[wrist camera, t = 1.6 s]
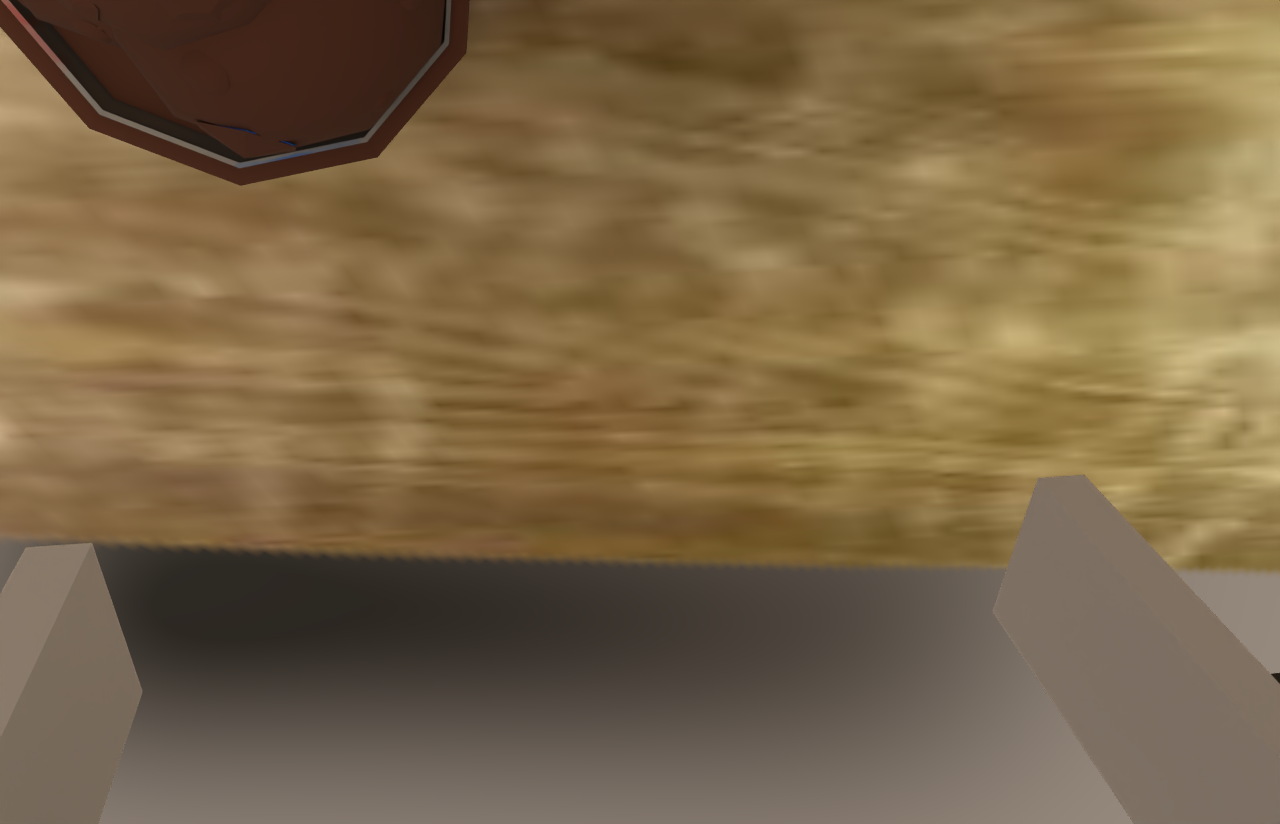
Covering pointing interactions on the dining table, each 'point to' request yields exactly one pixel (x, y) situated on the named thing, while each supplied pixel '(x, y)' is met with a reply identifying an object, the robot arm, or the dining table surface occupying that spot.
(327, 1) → the ice cream bowl
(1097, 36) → the dining table surface
